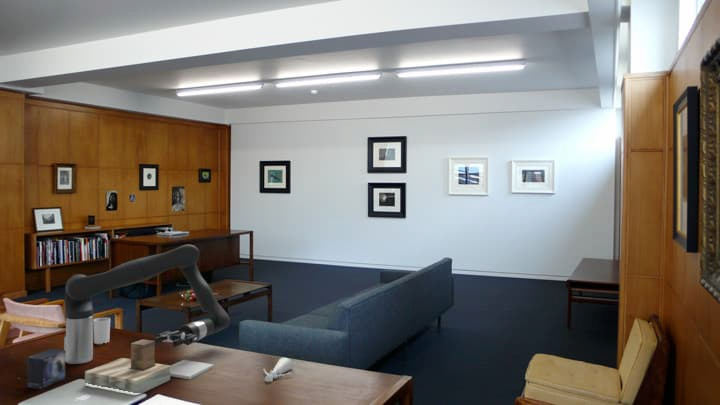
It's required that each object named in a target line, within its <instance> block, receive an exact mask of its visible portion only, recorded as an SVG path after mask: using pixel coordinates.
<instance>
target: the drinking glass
mask: <svg viewBox="0 0 720 405" xmlns="http://www.w3.org/2000/svg"><path fill="white" fill-rule="evenodd" d="M110 330H111V317H98V318H93V344H96V345H103V343H105V344H107V342H108V343H110V336H111V335H110V332H111V331H110Z"/></svg>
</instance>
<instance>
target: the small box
mask: <svg viewBox="0 0 720 405" xmlns="http://www.w3.org/2000/svg"><path fill="white" fill-rule="evenodd" d="M65 355H66V350H64V349H59V348H58V349H56V348H49V349H46V350H43V351H40V352H38V353H35V354H32V355H30V356H27V365H26V366H27V368H26V369H27V370H26V373H27V374H26V377H27V378H26V388H27V389H36V390H44V389H46V388H48V387H50V386H52V385H55V384H57V383H60V382H62V381H64V380H66V361H65Z"/></svg>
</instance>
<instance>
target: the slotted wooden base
mask: <svg viewBox="0 0 720 405" xmlns="http://www.w3.org/2000/svg"><path fill="white" fill-rule="evenodd" d="M170 366H171V365H168V364H164V363H163V364H161V363H156V362H155V366H154V367H152V368H149V369H147V370H145V371H140V370H134V369H131V358H125V357H120V358H118V359H114V360H112V361H110V362H107V363H105V364H102V365H99V366H96V367H93V368H92V369H88V370H85V371H84V384H85V383H88V384H92V385H97V386H101V387H108V388H113V389H119V390H123V391H128V392H133V393H142V394H143V393H145V392H148V391H149V390H151V389H154V388H156V387H158V386H160V385H162V384H165V383H167V382H168V381H170V380H171V376H170Z"/></svg>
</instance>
